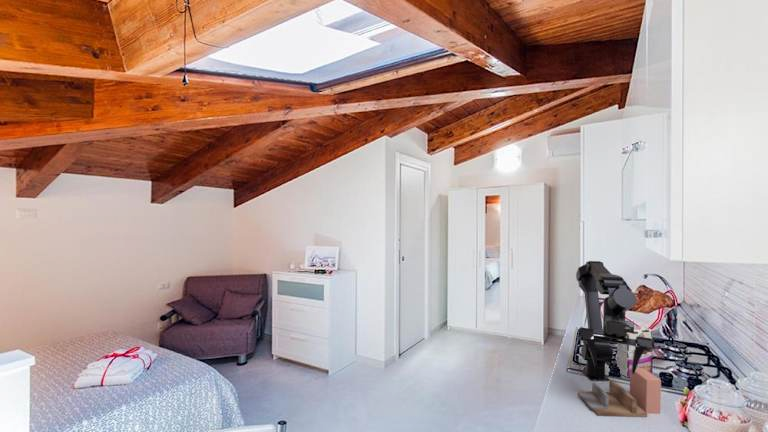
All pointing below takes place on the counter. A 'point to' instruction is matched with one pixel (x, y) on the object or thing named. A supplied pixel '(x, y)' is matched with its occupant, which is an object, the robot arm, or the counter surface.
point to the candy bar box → (627, 353)
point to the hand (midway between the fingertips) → (614, 369)
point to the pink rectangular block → (646, 390)
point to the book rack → (612, 401)
